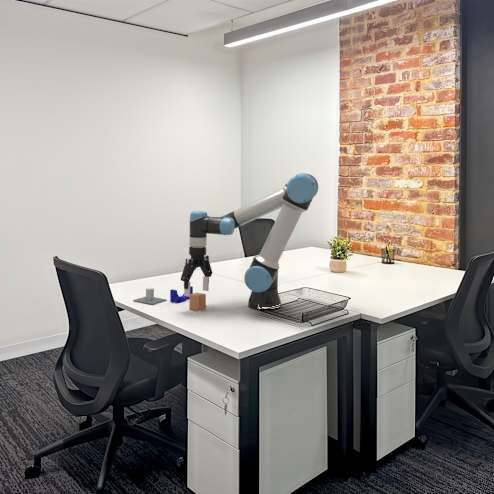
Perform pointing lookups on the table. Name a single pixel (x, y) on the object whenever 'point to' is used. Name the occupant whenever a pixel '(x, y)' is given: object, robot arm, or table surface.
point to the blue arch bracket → (178, 299)
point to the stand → (150, 298)
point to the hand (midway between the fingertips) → (196, 293)
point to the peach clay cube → (197, 301)
